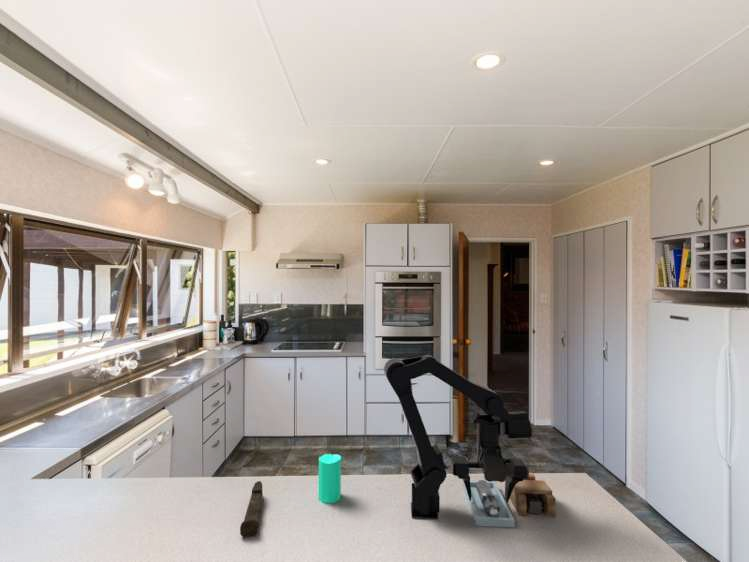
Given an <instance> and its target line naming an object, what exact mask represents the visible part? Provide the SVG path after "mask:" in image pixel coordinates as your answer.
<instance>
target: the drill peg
mask: <svg viewBox="0 0 749 562" xmlns="http://www.w3.org/2000/svg"><path fill="white" fill-rule="evenodd" d="M477 481H478V482H477V484H476V489H477V492H478V494H479V497H480V499H481V502H482V504H483V507H484V509H485V512H486V513H487V514H488V515H489V516H491V517H498V516H499V510H500V508H499V505H498V503H497V501H496V499H495V497H494V495H493V493H492V490H491V488H490V486H489V484H488V483H487V482H488V481H486V480H485V479H480V480H477Z"/></svg>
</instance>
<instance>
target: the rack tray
mask: <svg viewBox="0 0 749 562" xmlns="http://www.w3.org/2000/svg"><path fill="white" fill-rule="evenodd" d="M478 481H479V480H477V481H473V480H470V486H471V501H470V500H469V497H468V494H467V490H466V487H465V484H464V481H463V480H462V487H463V490H464V493H465V497H466V500H467V502H468V506H469V509H470V511H471V514H472V518H473V520H474V524H475V526H480V527H495V528H496V527H498V528H499V527H500V528H502V527H503V528H515V527H516V520H515V518H514V516H513V514H512V512H511V510H510V508H509V506H508V504H507V502H506V501H505V497H503V495H502V492H501V491H500V488H499V487H498V485H497V483H496V481H492V482H489V481H486V482H487V483H488V484H489V486H490V488H491V490H492V493H493V495H494V497H495V499H496V501H497V503H498V505H499V508H500V510H499V516H498V517H491V516H489V515H488V514H487V513H486V512H485V509H484V507H483V504H482V502H481V499H480V497H479V494H478V492H477V489H476V484H477V482H478Z"/></svg>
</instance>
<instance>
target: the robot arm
mask: <svg viewBox="0 0 749 562" xmlns="http://www.w3.org/2000/svg"><path fill="white" fill-rule="evenodd" d="M383 371H384V376H385V377H386V379H387V381H388V383H389V384H390V386H391V388H392V390H393V391H394V393H395V394H396V397H397V398H398V400H399V403H400V406H401V409H402V411H403V414H404V417H405V419H406V422H407V426H408V428H409V430H410V433H411V436H412V439H413V442H414V445H415V448H416V449H415V450H416V457H417V464H416V465H415V466H414V467H413V468H412V469H411V471H409V473H410V475H411V478H412V481H413V482H411V502H410V511H411V512H410V513H411V518H412V519H425V520H426V519H429V520H433V519H434V520H438V519H439V513H440V510H441V508H440V507H441V506H440V501H441V499H440V497H441V496H440V493H439V491H440V488H441V485H442V484H443V483H444V482H445V480H446V478H447V471H446V470H448V469H449V468H448V466H447V464H446V462H445V461H444V456H443V453H442V451H441V449H440V448H439V446H438V444H437V443H436V444H433V446H432V444H431V442H430V438H429V436H428V435H429V434H428V433H427V430H426V428H425V425H424V424H425V423H424V422H423V419H422V416H421V414H420V412H419V408H418V406H417V403H416V401H415V398H414V395H413V384H412V380H414V379H417V378H419V377H421V376H424V375H426V374H430V375H432V376H434V377H436V378H437V379H439V380H440V381H442V382H444V383H445V384H447V385H448V386H450V387H451V388H453V389H454V390H457V392H459V393H461V394H463V395H465V396H466V397H467V398H468V399H469V400H470V401H471V402H472V403H474V405H476V406H477V407H478V408H479V409H480V410H481V411H483V412H484V413H479V412H478V411H477V410H475V411H474V413H472V414H471V415H470V416H469V417H468V419H469V420H470V421H471V422H472V423H473V424H476V461H468V460H467V457H466V455H465V456H463V455H461V456H460V455H452V456H451V457H450V461H449V462H450V464H449V465H450V468H451V471H452V472H451V473H452V475H453V476H455V477H457V478H458V479H460V480H462V482H463V481H464V484H465V487H466V490H467V494H468V497H469V500H470V501H471V486H470V481H471V477H470V471H482V472H483V477H484V480H485V481H486V482H499V483H504V500H505V502H506V503H509V501H510V496H511V493H512V491H513V489H514V487H515V485H516V483H518V482H519V481H523V479H528V478H529V474H530V471H529V470H530V469H529V467H528V466H527V464H526V463H525V462H524V460H523V459H522V458H516V457H513V458H511V457H508V458H505V457H503V454H502V448H501V435H502V436H504V438H505V440H530V439H531V438H532V436H533V428H532V425H531V421H530V420H529V416H528V413H527V412H526V411H524V410H519V411H518V410H517V411H508V410H507V409H506V408H505V406H504V399H503V397H502V396H501V395H500V394H498V393H497V392H495V391H494V390H493V389H491V388H489V387H488V386H485V385H483V384H479V383H476V382H475V381H471V380H469V379H467V378H466V377H464V376H463V375H462V374H461V375H460V373H457V372H456V371H454V370H453V369H451V368H450V367H449V366H446V365H445V364H443V363H442V362H440V361H438V360H437V359H436V358H434V357H433V356H432V355H430V354H424V355H421V356H415V357H409V358H408V357H407V358H404V359H399V358H397V357H396V358H395V357H394V358H391V359H388V361H386V362H385V365H384V367H383Z"/></svg>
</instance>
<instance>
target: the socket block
mask: <svg viewBox="0 0 749 562" xmlns="http://www.w3.org/2000/svg"><path fill="white" fill-rule="evenodd" d="M524 493H534V494H536V495H537V496H538V498H539V499H540V501H541V510H543V512H544V513H545V515H546V516H547V517H551V518H552V517H556V497H555V495H553V490H552V489H551V487H550V486H549V485H548V484H547V482H546V481H545V480H539V479H538V480H537V479H535V480H523V481H519V482H518V483H516V485H515V487H514V489H513V491H512V493H511V496H510V499H509V501H510V503H511V504H512V506H513V508H514V509H515V512H516V513H517V515H518V516H527V507H526V496H525V494H524Z"/></svg>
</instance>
